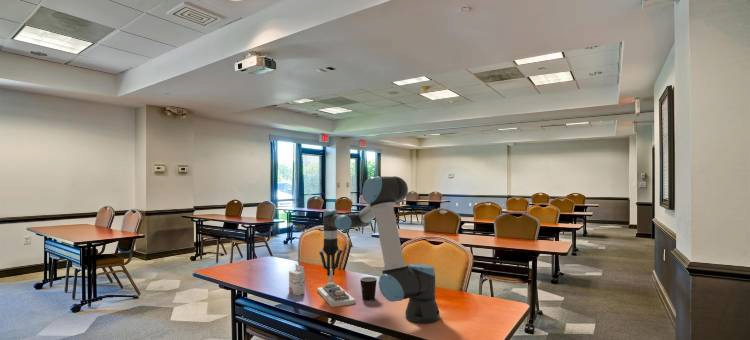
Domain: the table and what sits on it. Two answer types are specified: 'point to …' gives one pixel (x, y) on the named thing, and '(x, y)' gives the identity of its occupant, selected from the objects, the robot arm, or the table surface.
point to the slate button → (334, 288)
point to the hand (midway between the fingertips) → (330, 281)
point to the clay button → (339, 293)
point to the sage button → (330, 285)
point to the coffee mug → (368, 287)
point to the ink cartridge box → (297, 281)
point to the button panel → (335, 297)
